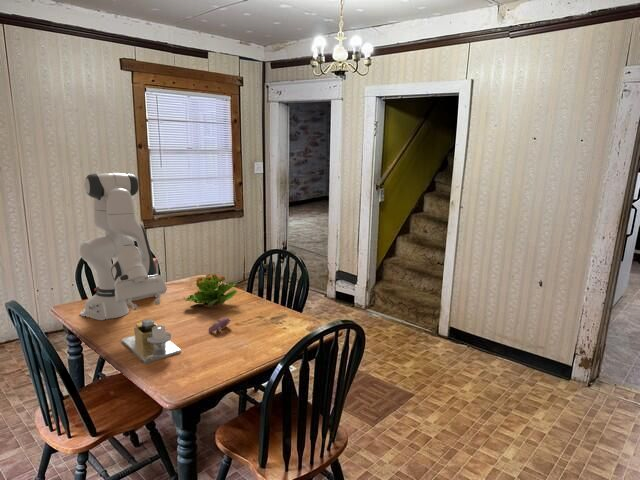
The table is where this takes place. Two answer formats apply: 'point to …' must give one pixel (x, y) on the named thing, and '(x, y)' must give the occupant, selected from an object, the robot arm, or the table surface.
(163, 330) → the silver and gold device
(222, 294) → the potted flower
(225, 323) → the video game controller
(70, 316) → the table surface
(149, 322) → the tall grey square post
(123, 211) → the robot arm
